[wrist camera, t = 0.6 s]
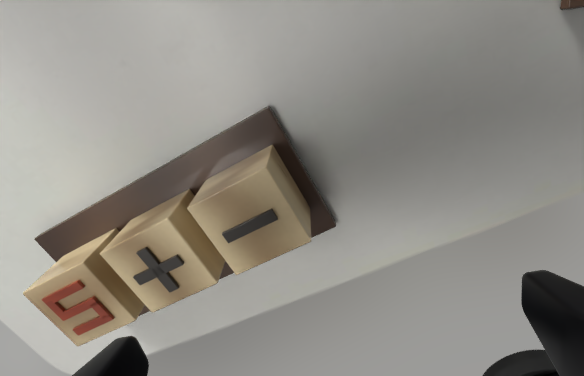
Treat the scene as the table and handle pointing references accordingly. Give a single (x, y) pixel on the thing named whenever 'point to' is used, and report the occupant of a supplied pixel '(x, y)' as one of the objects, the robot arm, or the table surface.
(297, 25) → the table surface
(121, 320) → the letter s tile
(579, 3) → the letter block display
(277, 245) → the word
